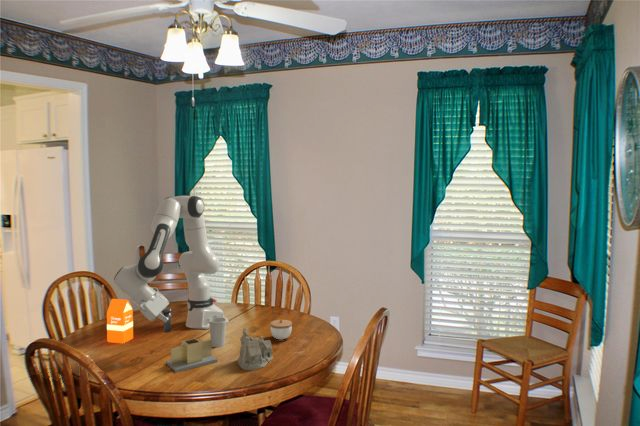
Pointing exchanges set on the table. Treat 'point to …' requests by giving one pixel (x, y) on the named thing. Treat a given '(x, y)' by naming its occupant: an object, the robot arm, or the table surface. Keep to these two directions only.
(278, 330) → the lidded jar
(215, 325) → the cup
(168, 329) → the hinge pin
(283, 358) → the table surface
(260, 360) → the ceramic cottage
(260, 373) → the table surface
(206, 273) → the robot arm
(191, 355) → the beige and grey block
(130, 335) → the orange juice
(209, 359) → the board
